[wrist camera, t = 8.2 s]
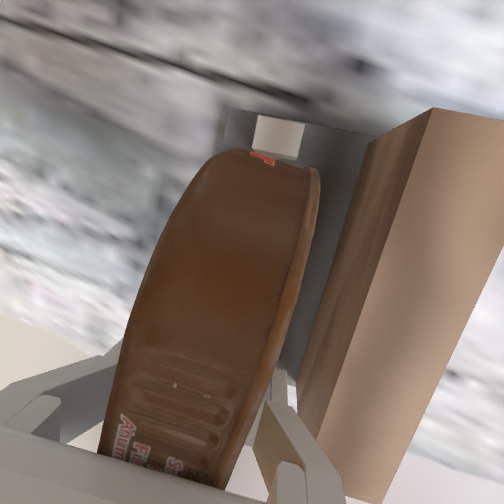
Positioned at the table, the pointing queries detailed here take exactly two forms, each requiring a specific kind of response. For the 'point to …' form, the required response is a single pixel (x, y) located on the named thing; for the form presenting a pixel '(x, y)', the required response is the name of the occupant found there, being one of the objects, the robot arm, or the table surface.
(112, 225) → the table surface
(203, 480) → the tin
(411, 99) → the table surface
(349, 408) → the cabinet
